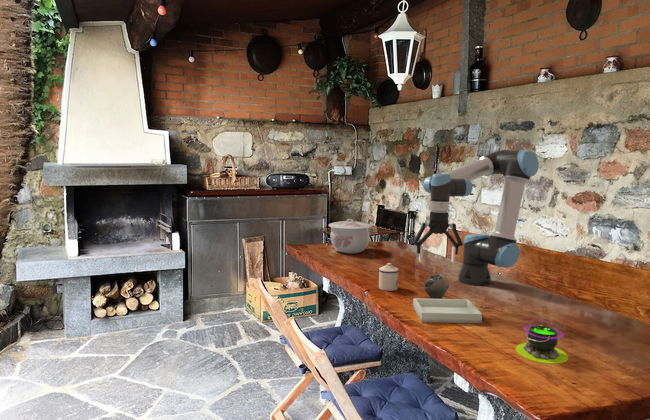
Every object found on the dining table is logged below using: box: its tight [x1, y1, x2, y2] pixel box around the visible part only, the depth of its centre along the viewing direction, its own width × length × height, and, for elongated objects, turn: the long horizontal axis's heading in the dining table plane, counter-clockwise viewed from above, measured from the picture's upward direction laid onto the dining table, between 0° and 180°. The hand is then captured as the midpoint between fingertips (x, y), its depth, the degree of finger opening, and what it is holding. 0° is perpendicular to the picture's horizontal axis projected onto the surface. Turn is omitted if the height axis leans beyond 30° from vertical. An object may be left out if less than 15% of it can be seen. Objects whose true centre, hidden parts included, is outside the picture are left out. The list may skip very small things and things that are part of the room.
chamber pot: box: [328, 218, 373, 255], centre depth 291 cm, size 28×28×21 cm
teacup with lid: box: [378, 262, 400, 292], centre depth 214 cm, size 12×9×12 cm
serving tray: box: [412, 297, 483, 324], centre depth 179 cm, size 22×17×4 cm
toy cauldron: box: [515, 316, 569, 365], centre depth 145 cm, size 15×15×11 cm
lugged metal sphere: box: [423, 270, 450, 299], centre depth 196 cm, size 10×12×10 cm
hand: (436, 262), depth 194 cm, fingers open, 13 cm apart
